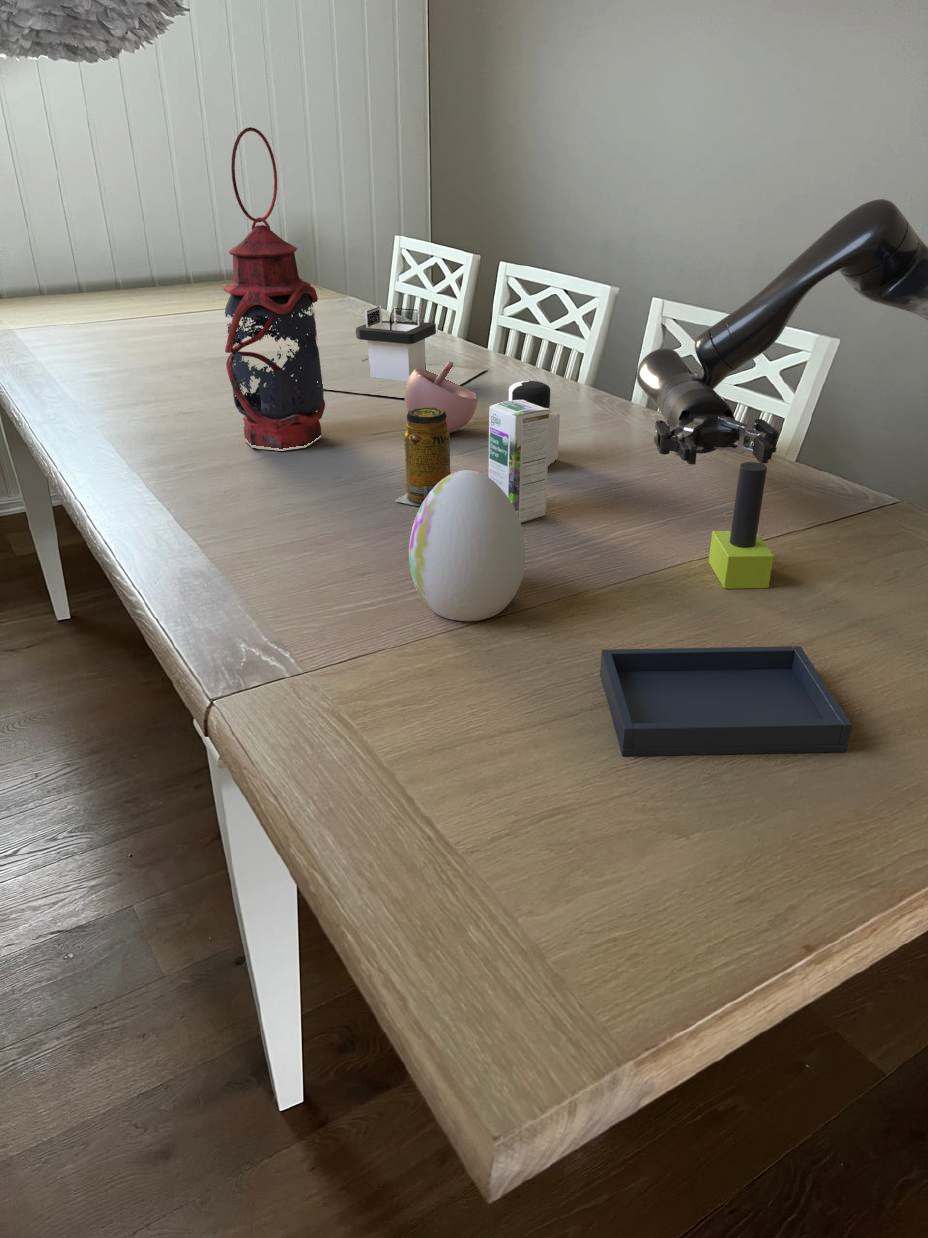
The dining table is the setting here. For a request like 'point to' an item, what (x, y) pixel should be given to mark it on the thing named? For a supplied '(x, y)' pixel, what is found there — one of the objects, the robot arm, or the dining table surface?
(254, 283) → the lantern
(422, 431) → the condiment
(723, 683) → the tray
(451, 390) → the mortar and pestle
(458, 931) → the dining table surface
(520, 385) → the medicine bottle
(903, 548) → the dining table surface
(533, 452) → the syrup box
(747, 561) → the sponge wand
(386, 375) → the black-topped pedestal
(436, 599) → the decorative egg
